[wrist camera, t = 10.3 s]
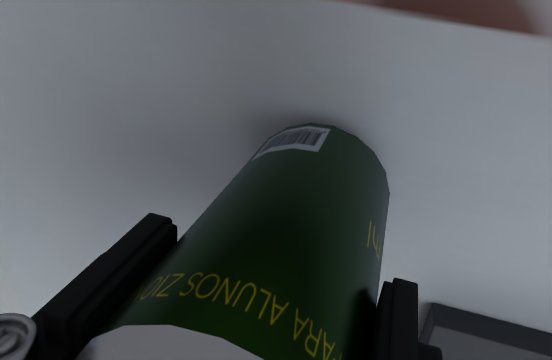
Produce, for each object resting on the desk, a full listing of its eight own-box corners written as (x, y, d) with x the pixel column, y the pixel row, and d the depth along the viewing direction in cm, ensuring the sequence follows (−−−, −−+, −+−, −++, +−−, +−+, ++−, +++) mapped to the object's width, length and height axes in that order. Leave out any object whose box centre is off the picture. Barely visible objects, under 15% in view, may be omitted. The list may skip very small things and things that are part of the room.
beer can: (233, 142, 18) (-33, 391, 7) (361, 96, 15) (247, 354, 5) (286, 254, 19) (130, 591, 9) (410, 225, 17) (400, 629, 7)
